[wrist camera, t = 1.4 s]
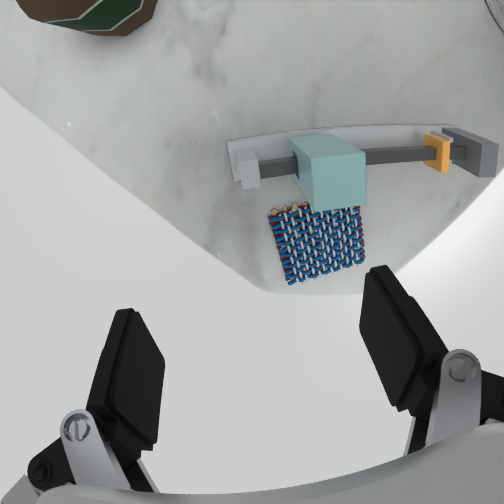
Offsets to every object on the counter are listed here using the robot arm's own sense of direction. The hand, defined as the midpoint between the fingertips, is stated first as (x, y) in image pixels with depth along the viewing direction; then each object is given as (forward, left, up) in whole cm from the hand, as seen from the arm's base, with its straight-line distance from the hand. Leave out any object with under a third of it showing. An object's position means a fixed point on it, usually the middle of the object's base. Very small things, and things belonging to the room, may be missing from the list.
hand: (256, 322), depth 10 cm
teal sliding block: (-7, 0, -19) cm, 20 cm away
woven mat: (-8, +11, -23) cm, 26 cm away
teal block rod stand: (-13, 0, -22) cm, 26 cm away
